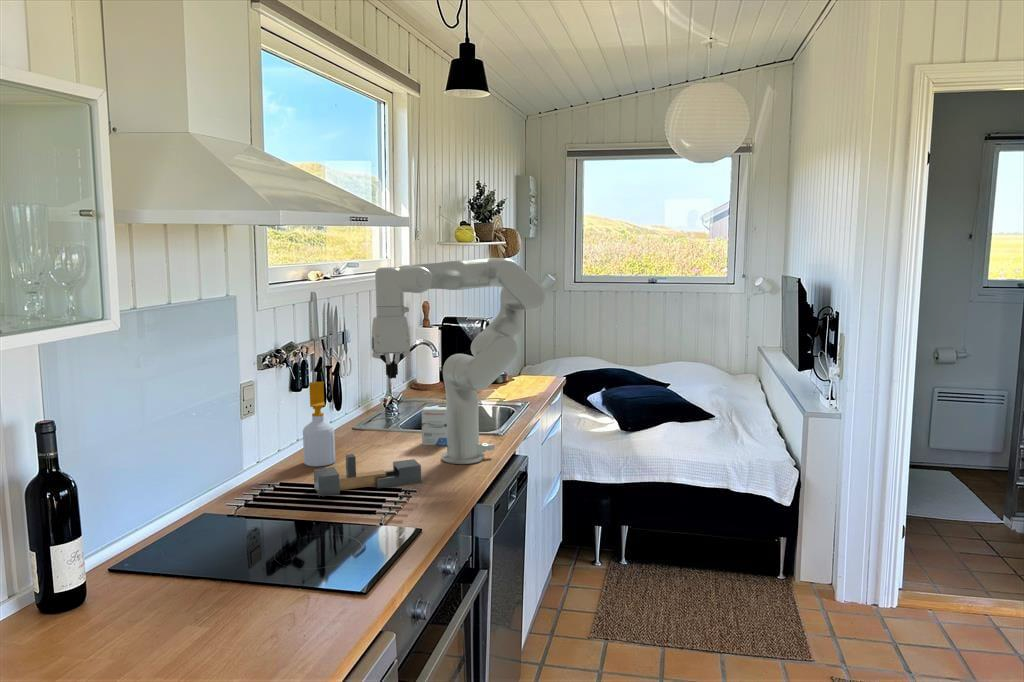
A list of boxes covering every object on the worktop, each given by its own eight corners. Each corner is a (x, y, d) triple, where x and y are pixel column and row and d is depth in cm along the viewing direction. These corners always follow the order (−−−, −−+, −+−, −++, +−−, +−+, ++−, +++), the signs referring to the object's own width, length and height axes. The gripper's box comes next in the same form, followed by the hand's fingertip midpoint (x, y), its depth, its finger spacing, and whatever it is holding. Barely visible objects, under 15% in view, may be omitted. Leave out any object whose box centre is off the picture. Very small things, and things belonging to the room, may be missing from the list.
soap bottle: (304, 468, 225) (300, 384, 222) (304, 459, 234) (300, 379, 230) (336, 465, 227) (332, 382, 224) (334, 457, 236) (331, 377, 233)
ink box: (451, 441, 253) (450, 406, 251) (448, 446, 248) (447, 409, 246) (425, 441, 253) (424, 405, 252) (421, 445, 249) (421, 409, 247)
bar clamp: (414, 475, 217) (413, 457, 217) (421, 482, 210) (421, 464, 210) (314, 488, 207) (313, 469, 206) (319, 496, 200) (318, 477, 199)
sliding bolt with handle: (383, 480, 212) (382, 450, 211) (386, 484, 209) (385, 453, 208) (323, 488, 206) (322, 457, 204) (326, 492, 203) (324, 460, 201)
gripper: (412, 310, 221) (414, 373, 224) (360, 312, 215) (362, 377, 218) (420, 312, 214) (421, 377, 217) (366, 314, 209) (368, 382, 211)
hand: (392, 377), depth 217 cm, fingers closed
